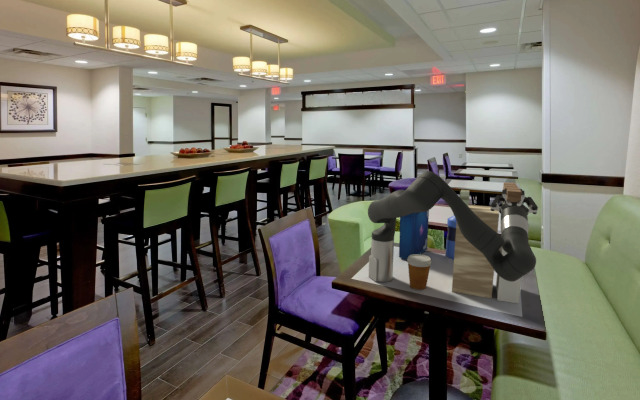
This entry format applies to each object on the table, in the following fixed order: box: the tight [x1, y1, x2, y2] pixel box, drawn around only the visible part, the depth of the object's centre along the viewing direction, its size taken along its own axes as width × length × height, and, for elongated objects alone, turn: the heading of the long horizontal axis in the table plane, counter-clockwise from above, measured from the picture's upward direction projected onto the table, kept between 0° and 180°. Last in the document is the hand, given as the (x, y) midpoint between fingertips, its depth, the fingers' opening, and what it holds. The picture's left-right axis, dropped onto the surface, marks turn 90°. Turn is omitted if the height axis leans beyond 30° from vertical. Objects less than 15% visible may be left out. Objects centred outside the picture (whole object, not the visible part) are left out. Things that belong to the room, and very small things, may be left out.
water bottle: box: [445, 214, 457, 260], centre depth 181 cm, size 9×9×25 cm
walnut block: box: [502, 181, 522, 202], centre depth 131 cm, size 26×4×4 cm, turn 156°
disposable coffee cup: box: [406, 254, 433, 291], centre depth 147 cm, size 10×10×12 cm
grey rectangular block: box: [495, 246, 523, 304], centre depth 139 cm, size 15×7×20 cm, turn 157°
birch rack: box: [451, 189, 500, 299], centre depth 143 cm, size 14×14×39 cm
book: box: [398, 210, 430, 261], centre depth 183 cm, size 22×7×25 cm, turn 143°
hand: (513, 190), depth 126 cm, fingers closed on walnut block, 4 cm apart
